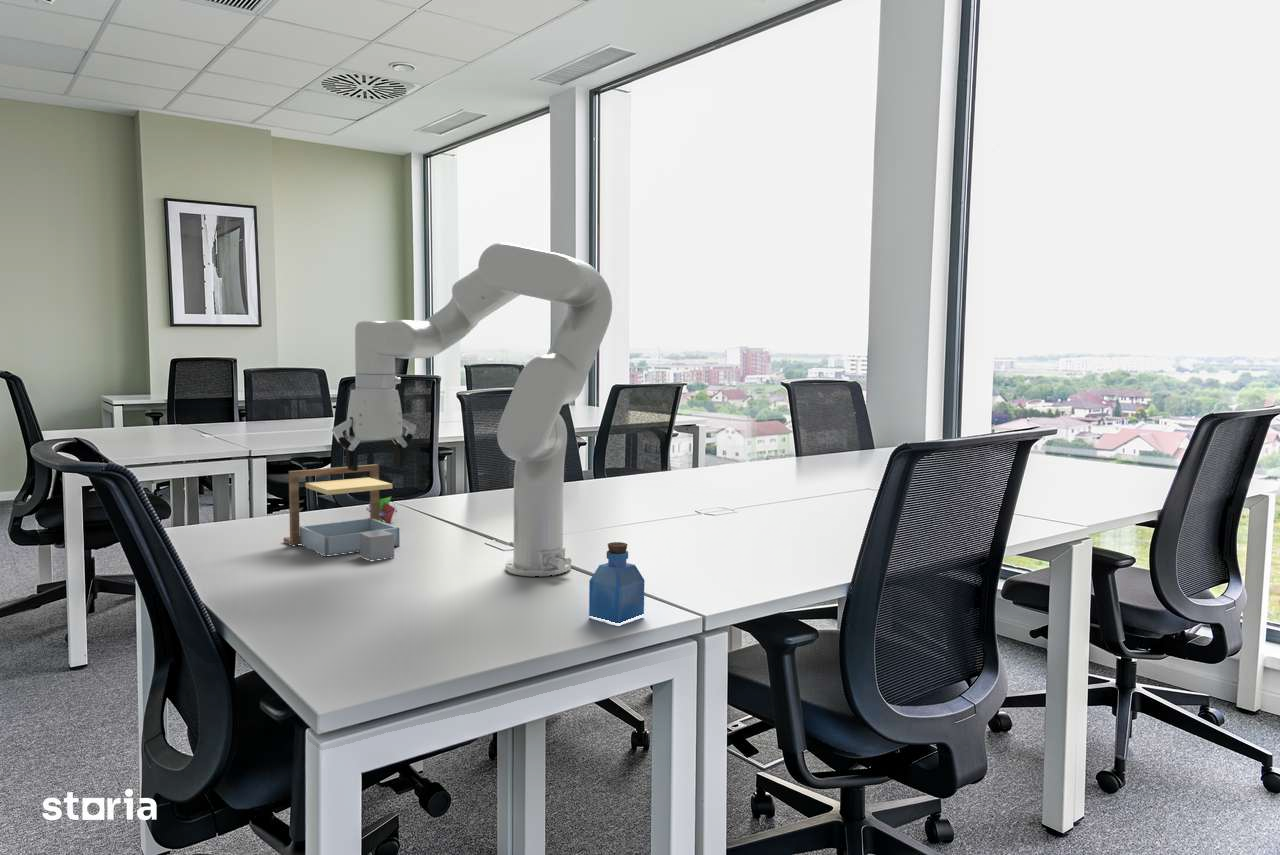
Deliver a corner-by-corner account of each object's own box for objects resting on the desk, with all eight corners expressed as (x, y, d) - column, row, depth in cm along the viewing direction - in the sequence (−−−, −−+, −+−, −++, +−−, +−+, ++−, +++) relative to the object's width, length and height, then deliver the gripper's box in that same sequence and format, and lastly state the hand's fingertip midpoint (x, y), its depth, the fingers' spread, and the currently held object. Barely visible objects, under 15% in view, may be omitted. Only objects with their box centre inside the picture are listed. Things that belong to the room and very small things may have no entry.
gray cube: (394, 558, 173) (394, 534, 173) (370, 562, 170) (370, 537, 170) (383, 553, 177) (383, 530, 177) (360, 557, 174) (359, 533, 173)
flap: (392, 488, 182) (392, 483, 182) (327, 494, 173) (327, 490, 173) (368, 481, 191) (368, 477, 191) (305, 487, 182) (305, 482, 182)
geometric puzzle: (408, 513, 209) (392, 486, 210) (390, 518, 202) (373, 490, 204) (389, 529, 211) (373, 502, 213) (371, 534, 205) (354, 506, 206)
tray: (399, 546, 184) (399, 527, 183) (325, 557, 173) (325, 537, 173) (371, 535, 194) (371, 517, 194) (300, 545, 183) (299, 526, 183)
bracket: (380, 534, 194) (379, 465, 193) (293, 546, 182) (291, 472, 180) (369, 530, 199) (368, 462, 197) (283, 542, 186) (282, 469, 184)
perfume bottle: (614, 610, 141) (615, 538, 139) (643, 618, 137) (645, 544, 136) (589, 618, 136) (589, 544, 135) (618, 627, 132) (619, 550, 131)
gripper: (406, 382, 179) (407, 463, 180) (324, 382, 167) (325, 469, 169) (423, 383, 173) (424, 467, 175) (340, 384, 162) (341, 473, 163)
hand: (375, 468), depth 172 cm, fingers open, 9 cm apart
